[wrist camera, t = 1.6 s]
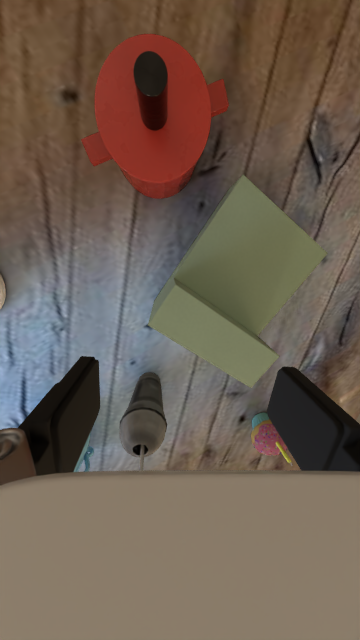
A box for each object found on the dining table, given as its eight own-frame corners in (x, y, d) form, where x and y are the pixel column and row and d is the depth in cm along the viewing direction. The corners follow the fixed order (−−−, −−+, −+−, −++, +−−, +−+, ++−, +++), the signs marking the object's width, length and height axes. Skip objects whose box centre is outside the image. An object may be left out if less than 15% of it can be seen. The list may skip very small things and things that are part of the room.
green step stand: (229, 188, 32) (269, 147, 19) (302, 253, 36) (373, 253, 23) (153, 301, 37) (147, 325, 24) (225, 347, 40) (250, 388, 28)
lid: (76, 73, 21) (41, 1, 15) (188, 24, 20) (197, -72, 14) (127, 201, 24) (115, 184, 19) (222, 162, 24) (240, 132, 18)
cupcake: (242, 410, 46) (267, 461, 34) (278, 402, 46) (316, 451, 34) (246, 437, 49) (270, 493, 37) (280, 430, 49) (315, 484, 37)
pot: (87, 131, 28) (55, 83, 20) (199, 83, 27) (212, 13, 19) (122, 216, 32) (107, 203, 24) (221, 175, 31) (241, 148, 23)
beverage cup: (159, 361, 41) (153, 456, 22) (171, 389, 43) (176, 497, 24) (126, 373, 41) (91, 476, 22) (140, 400, 43) (119, 514, 24)
